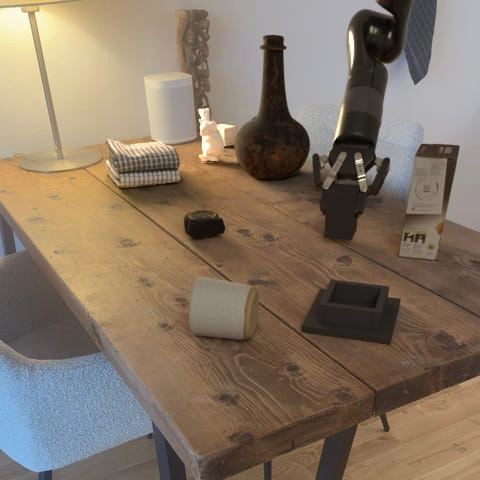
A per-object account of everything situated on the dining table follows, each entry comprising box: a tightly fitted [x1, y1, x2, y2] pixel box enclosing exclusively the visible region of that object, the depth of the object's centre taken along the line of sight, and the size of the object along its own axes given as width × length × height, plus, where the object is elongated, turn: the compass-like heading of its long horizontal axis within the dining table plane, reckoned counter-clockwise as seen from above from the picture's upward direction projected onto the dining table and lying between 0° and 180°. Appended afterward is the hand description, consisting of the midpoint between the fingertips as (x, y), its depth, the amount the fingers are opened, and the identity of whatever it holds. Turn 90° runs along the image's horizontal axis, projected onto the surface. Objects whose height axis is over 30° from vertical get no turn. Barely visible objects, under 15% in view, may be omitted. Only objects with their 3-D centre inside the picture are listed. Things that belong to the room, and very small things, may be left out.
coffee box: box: [398, 143, 461, 261], centre depth 94 cm, size 9×6×16 cm
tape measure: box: [183, 209, 226, 239], centre depth 105 cm, size 7×7×4 cm
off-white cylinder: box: [188, 276, 260, 341], centre depth 76 cm, size 11×8×8 cm
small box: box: [217, 123, 238, 146], centre depth 160 cm, size 6×6×5 cm
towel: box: [105, 138, 182, 189], centre depth 134 cm, size 15×18×8 cm
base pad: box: [300, 278, 402, 346], centre depth 79 cm, size 12×12×4 cm
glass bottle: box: [233, 34, 311, 181], centre depth 128 cm, size 18×18×28 cm
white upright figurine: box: [197, 107, 225, 162], centre depth 144 cm, size 8×7×12 cm
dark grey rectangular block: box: [323, 183, 360, 241], centre depth 99 cm, size 5×5×8 cm
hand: (340, 214), depth 98 cm, fingers closed on dark grey rectangular block, 5 cm apart
